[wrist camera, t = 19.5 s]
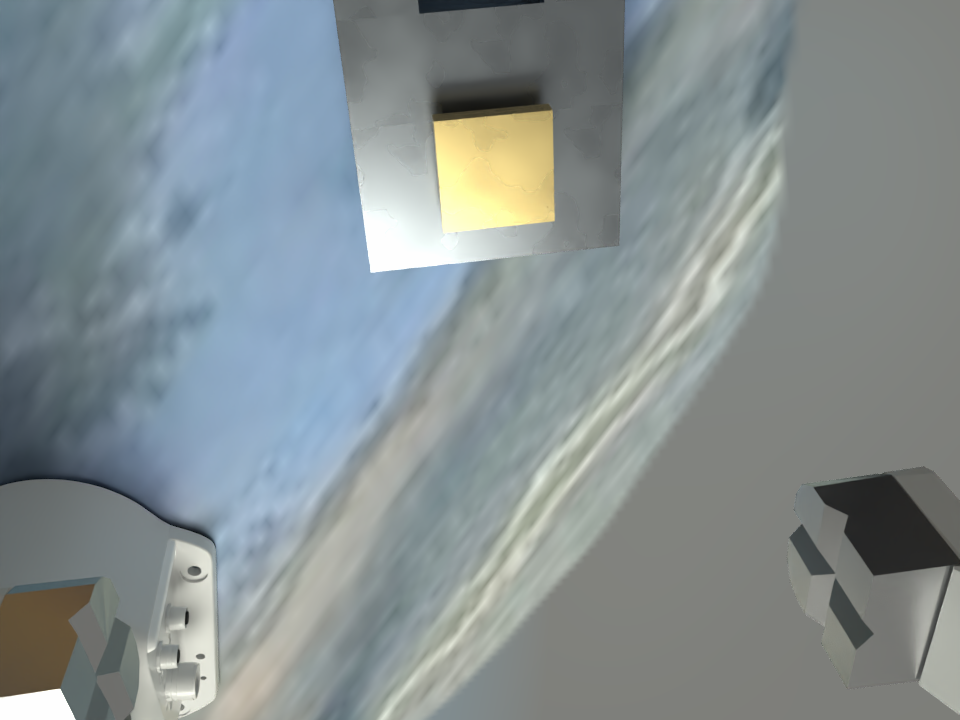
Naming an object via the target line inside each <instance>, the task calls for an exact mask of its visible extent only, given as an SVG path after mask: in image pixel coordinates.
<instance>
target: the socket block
mask: <svg viewBox="0 0 960 720" xmlns="http://www.w3.org/2000/svg"><path fill="white" fill-rule="evenodd" d="M333 3H334V10H335V17H336V24H337V31H338V39H339V46H340V53H341V60H342V67H343V75H344V82H345V89H346V96H347V103H348V110H349V118H350V125H351V132H352V139H353V146H354V154H355V161H356V168H357V175H358V182H359V190H360V197H361V204H362V211H363V218H364V225H365V233H366V240H367V247H368V254H369V261H370V269H371V272H379V271H389V270H398V269H407V268H417V267H426V266H435V265H444V264H454V263H463V262H472V261H482V260H491V259H500V258H509V257H519V256H528V255H537V254H546V253H556V252H565V251H574V250H584V249H593V248H602V247H611V246H619V233H620V189H621V145H622V101H623V57H624V12H625V0H333ZM538 104H549V105H550V107H551V108H552V110H553V157H554V211H555V221H552V222H542V223H533V224H523V225H514V226H504V227H495V228H485V229H476V230H466V231H457V232H447V233H444V232H443V228H442V221H441V210H440V199H439V188H438V177H437V166H436V155H435V144H434V133H433V122H432V115H434V114H445V113H455V112H465V111H476V110H486V109H497V108H507V107H517V106H528V105H538Z"/></svg>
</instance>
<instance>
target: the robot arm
mask: <svg viewBox="0 0 960 720" xmlns="http://www.w3.org/2000/svg"><path fill="white" fill-rule="evenodd" d="M794 511H795V513H796V515H797V516H798V518H799V519H800V521H801V523H802V525H801V526H800V527H799V528H798V529H797V530H796V531H795V532H794V533H793V534H792V535H791V536H790V537H789V544H788V553H787V563H788V570H789V577H790V582H791V585H792V588H793V591H794V593H795V596H796V599H797V600H798V602H799V604H800V606H801V608H802V610H803V611H804V613H805V614H806V615H807V616H809V617H810V618H812V619H814V620H815V621H817V622H819V623H820V624H822V625H823V626H824V632H823V637H822V642H821V644H822V646H823V647H824V649H825V651H826V653H827V655H828V656H829V658H830V660H831V662H832V663H833V665H834V667H835V669H836V670H837V672H838V674H839V676H840V677H841V679H842V681H843V683H844V685H845V686H846V688H847V689H855V688H864V687H872V686H881V685H889V684H897V683H905V682H914V681H920V682H919V685H920V686H921V687H923V688H924V689H925V690H927V691H928V692H929V693H931V694H932V695H933V696H935V697H936V698H937V699H939V700H940V701H941V702H943V703H944V704H945V705H947V706H948V707H949V708H951V709H952V710H953V711H955V712H956V713H957V714H959V715H960V500H959V499H958V498H957V497H956V496H955V494H954V493H953V492H952V491H951V490H950V489H949V488H948V487H947V485H946V484H945V483H944V482H943V481H942V480H941V479H940V477H939V476H938V475H937V474H936V473H935V472H934V471H932V470H930V469H928V468H926V467H924V466H923V467H916V468H910V469H903V470H896V471H890V472H884V473H882V474H872V475H864V476H857V477H850V478H843V479H836V480H829V481H822V482H815V483H807V484H802V486H801V487H800V489H799V490H798V492H797V494H796V499H795V505H794ZM192 566H197V567H199V568H194V567H192ZM218 686H219V662H218V620H217V577H216V549H215V546H214V544H213V542H212V541H211V540H209V539H208V538H206V537H204V536H202V535H200V534H197V533H194V532H192V531H188V530H185V529H182V528H178V527H175V526H172V525H169V524H167V523H165V522H164V521H162V520H160V519H159V518H157V517H156V516H155V515H153V514H152V513H150V512H149V511H148V510H146V509H145V508H143V507H142V506H140V505H139V504H137V503H136V502H134V501H132V500H130V499H129V498H126V497H124V496H122V495H120V494H118V493H115V492H113V491H111V490H108V489H105V488H102V487H98V486H95V485H91V484H87V483H82V482H76V481H69V480H58V479H37V480H26V481H20V482H14V483H10V484H6V485H2V486H0V720H178V718H180V717H183V716H186V715H188V714H191V713H193V712H195V711H197V710H199V709H201V708H203V707H204V706H206V705H207V704H209V703H210V702H212V701H213V700H214V699H215V697H216V694H217V690H218Z"/></svg>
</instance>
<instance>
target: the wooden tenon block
mask: <svg viewBox="0 0 960 720" xmlns="http://www.w3.org/2000/svg"><path fill="white" fill-rule="evenodd" d="M432 122H433V133H434V144H435V155H436V166H437V177H438V188H439V199H440V210H441V221H442V228H443V232H444V233H447V232H457V231H466V230H476V229H485V228H495V227H504V226H514V225H523V224H533V223H542V222H552V221H555V211H554V157H553V110H552V108H551V107H550V105H549V104H538V105H528V106H517V107H507V108H497V109H486V110H476V111H465V112H455V113H445V114H434V115H432Z"/></svg>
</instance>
